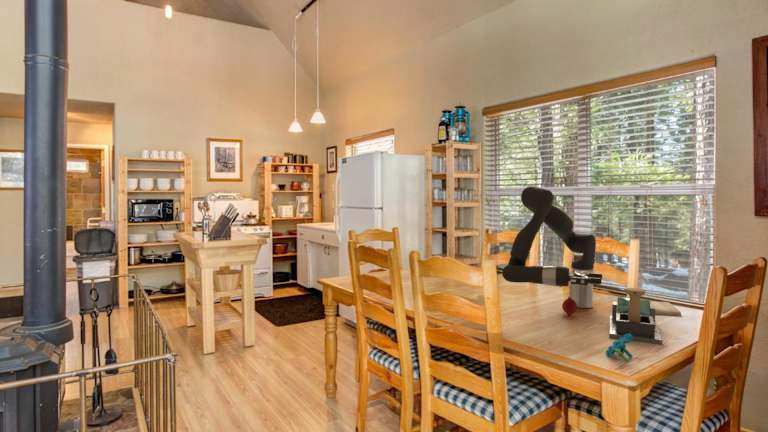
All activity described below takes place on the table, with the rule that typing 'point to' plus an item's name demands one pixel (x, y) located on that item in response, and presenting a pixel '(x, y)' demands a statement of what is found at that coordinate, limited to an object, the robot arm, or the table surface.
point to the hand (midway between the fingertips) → (601, 279)
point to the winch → (639, 330)
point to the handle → (634, 303)
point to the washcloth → (664, 308)
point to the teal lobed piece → (620, 347)
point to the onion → (569, 306)
